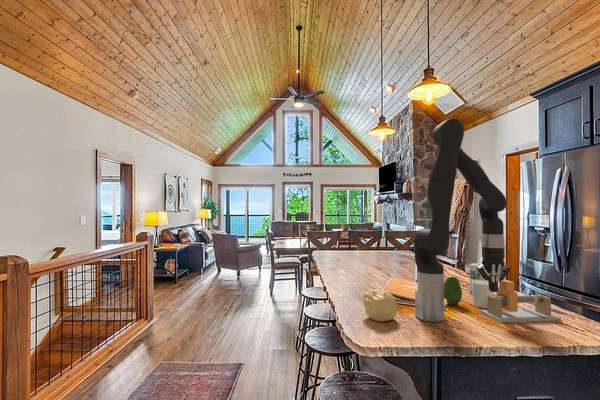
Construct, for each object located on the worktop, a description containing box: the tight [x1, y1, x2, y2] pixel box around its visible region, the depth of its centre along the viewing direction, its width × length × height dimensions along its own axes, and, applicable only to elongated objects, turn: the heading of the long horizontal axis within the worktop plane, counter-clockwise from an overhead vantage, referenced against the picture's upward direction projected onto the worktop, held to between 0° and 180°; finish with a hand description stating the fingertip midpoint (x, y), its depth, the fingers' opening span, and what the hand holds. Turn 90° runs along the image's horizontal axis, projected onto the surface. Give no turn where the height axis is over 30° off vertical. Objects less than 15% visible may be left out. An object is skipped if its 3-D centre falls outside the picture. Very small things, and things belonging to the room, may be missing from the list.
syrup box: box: [468, 262, 487, 295], centre depth 156 cm, size 6×6×14 cm
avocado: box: [444, 276, 463, 306], centre depth 140 cm, size 8×8×12 cm
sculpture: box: [362, 288, 398, 323], centre depth 121 cm, size 11×12×11 cm
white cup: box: [472, 280, 494, 309], centre depth 138 cm, size 8×8×10 cm
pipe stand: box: [479, 293, 562, 323], centre depth 124 cm, size 24×11×8 cm, turn 96°
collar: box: [496, 279, 519, 312], centre depth 124 cm, size 3×7×10 cm, turn 6°
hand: (493, 291), depth 123 cm, fingers closed
